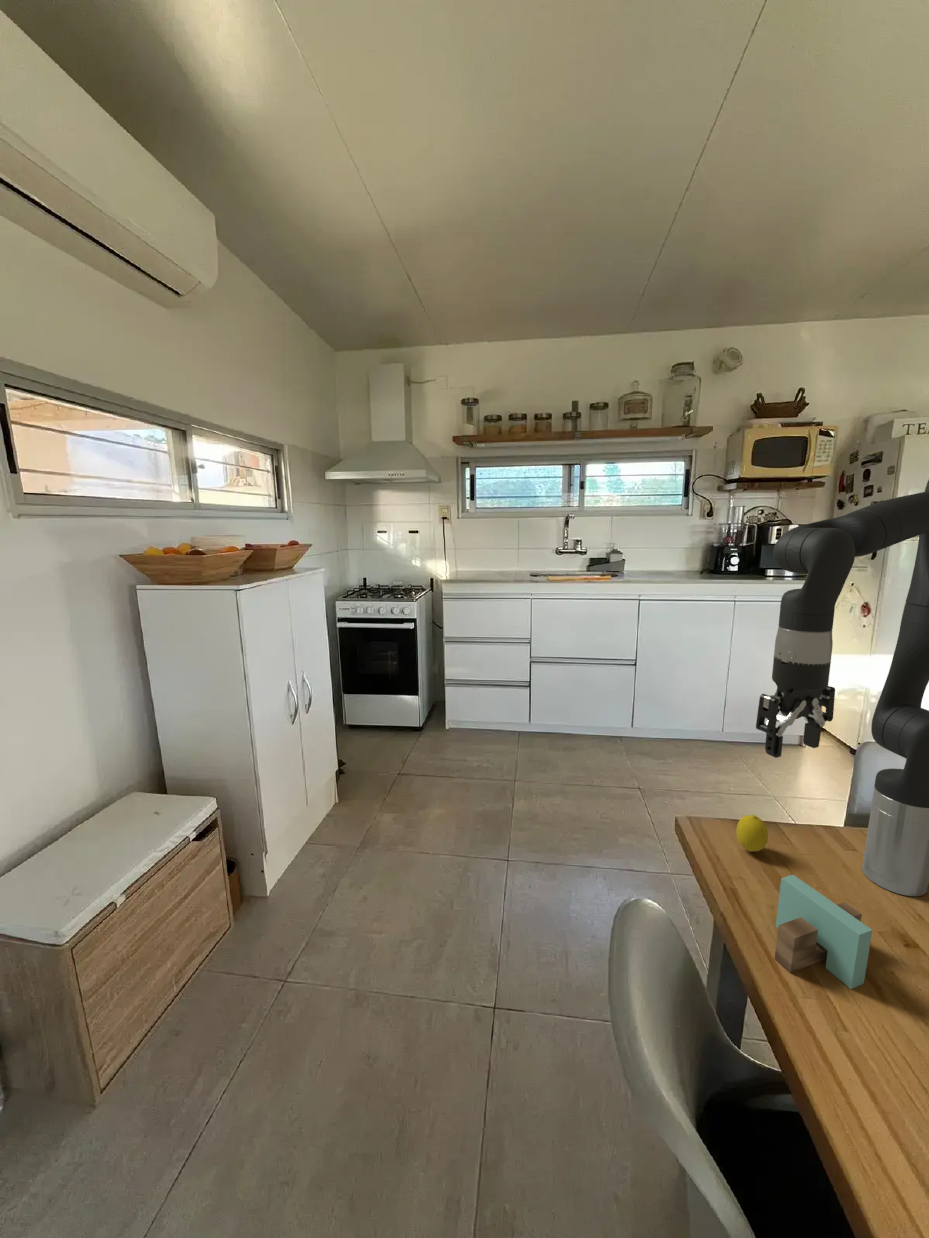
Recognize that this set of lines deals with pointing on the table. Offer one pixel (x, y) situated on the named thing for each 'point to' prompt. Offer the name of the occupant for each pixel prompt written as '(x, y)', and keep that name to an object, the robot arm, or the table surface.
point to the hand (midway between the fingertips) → (792, 750)
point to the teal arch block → (828, 929)
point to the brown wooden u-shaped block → (802, 942)
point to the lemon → (752, 833)
